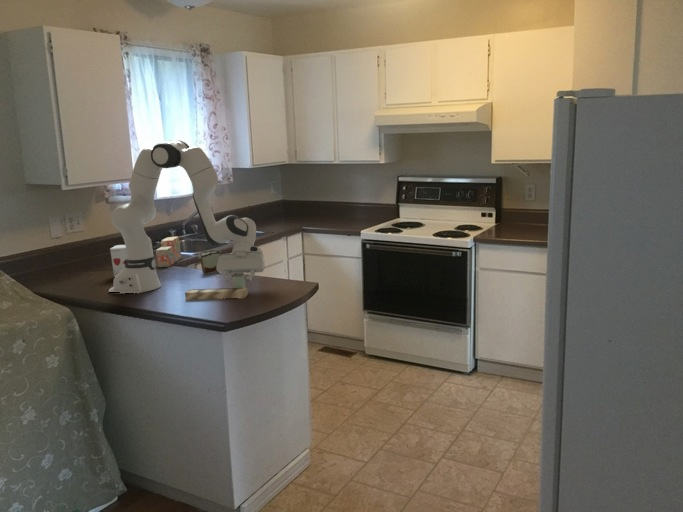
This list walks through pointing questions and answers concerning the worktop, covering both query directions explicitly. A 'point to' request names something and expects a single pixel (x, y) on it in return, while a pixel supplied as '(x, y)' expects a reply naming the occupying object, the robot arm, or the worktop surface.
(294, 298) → the worktop surface
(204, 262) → the food container
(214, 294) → the maple plank
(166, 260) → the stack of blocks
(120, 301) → the worktop surface
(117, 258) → the supplement box
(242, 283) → the post
